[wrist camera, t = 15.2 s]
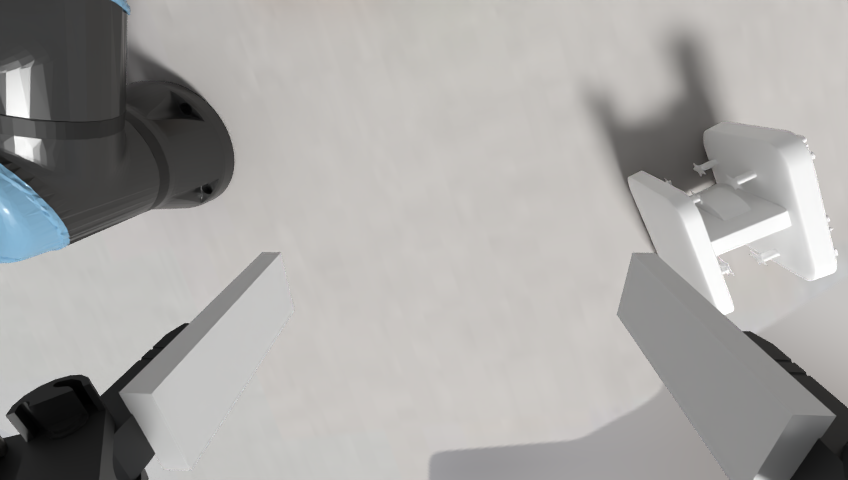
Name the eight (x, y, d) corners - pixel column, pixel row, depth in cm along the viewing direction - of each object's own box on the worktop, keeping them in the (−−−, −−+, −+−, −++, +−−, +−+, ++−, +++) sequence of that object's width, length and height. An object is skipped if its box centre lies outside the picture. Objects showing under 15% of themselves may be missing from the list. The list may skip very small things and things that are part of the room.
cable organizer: (616, 166, 40) (670, 197, 30) (717, 115, 37) (818, 128, 26) (660, 268, 45) (720, 326, 34) (754, 230, 41) (852, 281, 31)
